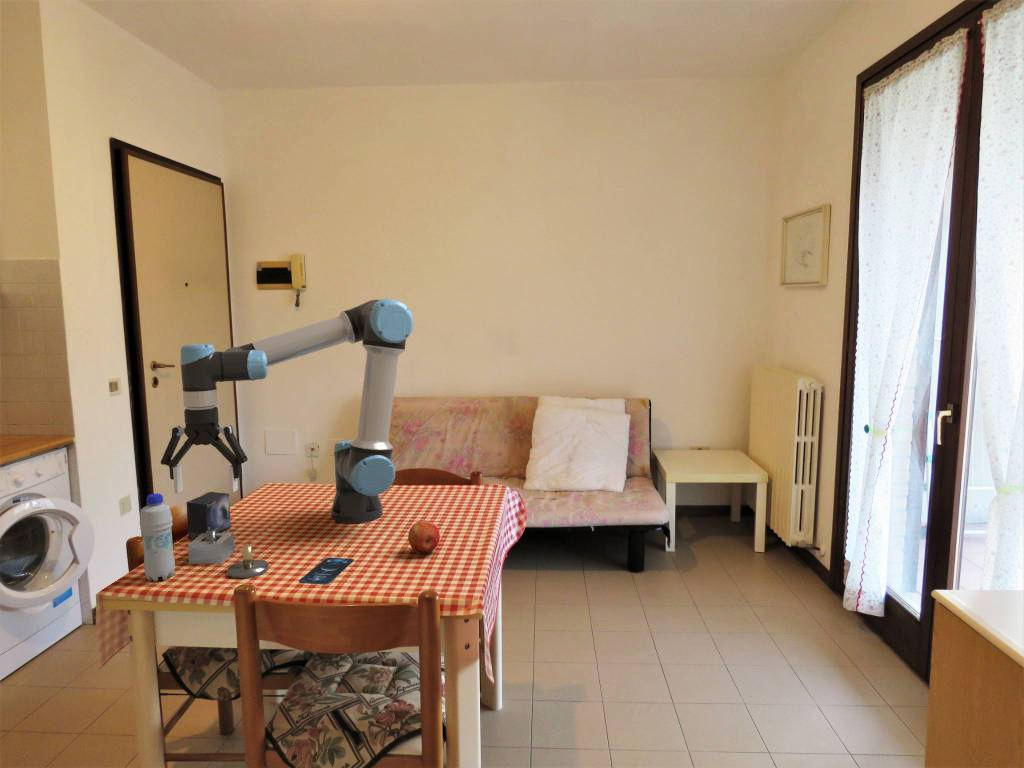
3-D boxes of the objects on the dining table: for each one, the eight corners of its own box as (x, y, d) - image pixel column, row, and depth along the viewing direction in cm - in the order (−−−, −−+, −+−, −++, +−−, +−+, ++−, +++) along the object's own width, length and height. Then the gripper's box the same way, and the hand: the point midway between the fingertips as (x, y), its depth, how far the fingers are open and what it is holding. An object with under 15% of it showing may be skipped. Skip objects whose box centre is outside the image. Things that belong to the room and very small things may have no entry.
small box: (208, 541, 176) (205, 503, 174) (187, 539, 177) (184, 502, 176) (232, 528, 186) (230, 492, 185) (212, 526, 187) (209, 491, 186)
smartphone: (355, 558, 162) (328, 583, 147) (356, 561, 162) (328, 586, 147) (326, 557, 163) (297, 581, 148) (327, 559, 163) (297, 583, 149)
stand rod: (222, 554, 166) (220, 528, 165) (216, 560, 162) (215, 532, 161) (208, 555, 165) (206, 528, 165) (203, 560, 162) (201, 533, 161)
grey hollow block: (235, 551, 168) (233, 532, 167) (222, 563, 160) (221, 543, 159) (203, 552, 168) (202, 533, 167) (189, 564, 160) (188, 544, 159)
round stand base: (273, 562, 160) (272, 539, 159) (261, 578, 151) (259, 553, 150) (236, 563, 160) (234, 540, 159) (221, 579, 151) (219, 554, 150)
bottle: (152, 572, 155) (145, 490, 153) (181, 570, 156) (175, 489, 153) (138, 584, 149) (131, 498, 146) (169, 582, 149) (162, 497, 147)
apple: (439, 545, 171) (438, 515, 170) (441, 557, 162) (440, 526, 162) (408, 547, 169) (407, 517, 168) (408, 559, 161) (408, 528, 160)
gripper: (257, 404, 164) (262, 486, 166) (157, 405, 163) (163, 488, 166) (246, 408, 157) (251, 494, 159) (141, 410, 156) (147, 496, 158)
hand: (206, 491), depth 162 cm, fingers open, 13 cm apart
